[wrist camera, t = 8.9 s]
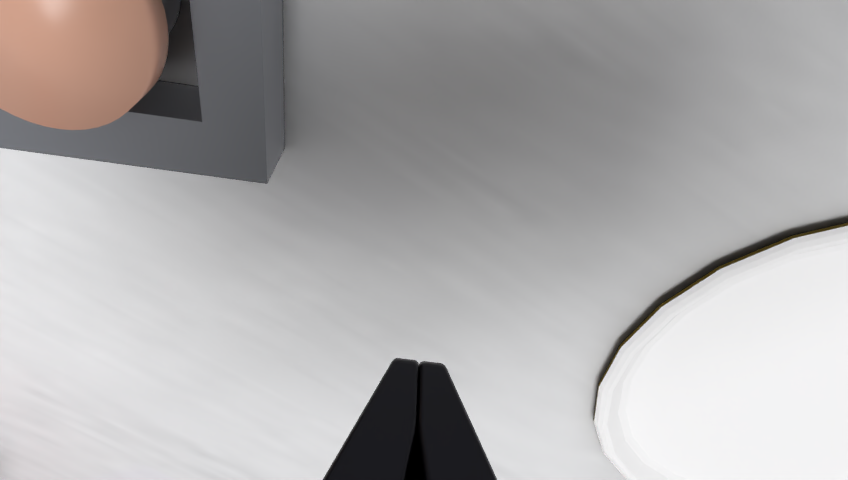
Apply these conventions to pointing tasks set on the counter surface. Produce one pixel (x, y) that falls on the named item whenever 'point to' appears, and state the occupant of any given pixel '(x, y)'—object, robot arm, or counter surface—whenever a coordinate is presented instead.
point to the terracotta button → (81, 58)
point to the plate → (738, 372)
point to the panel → (194, 105)
